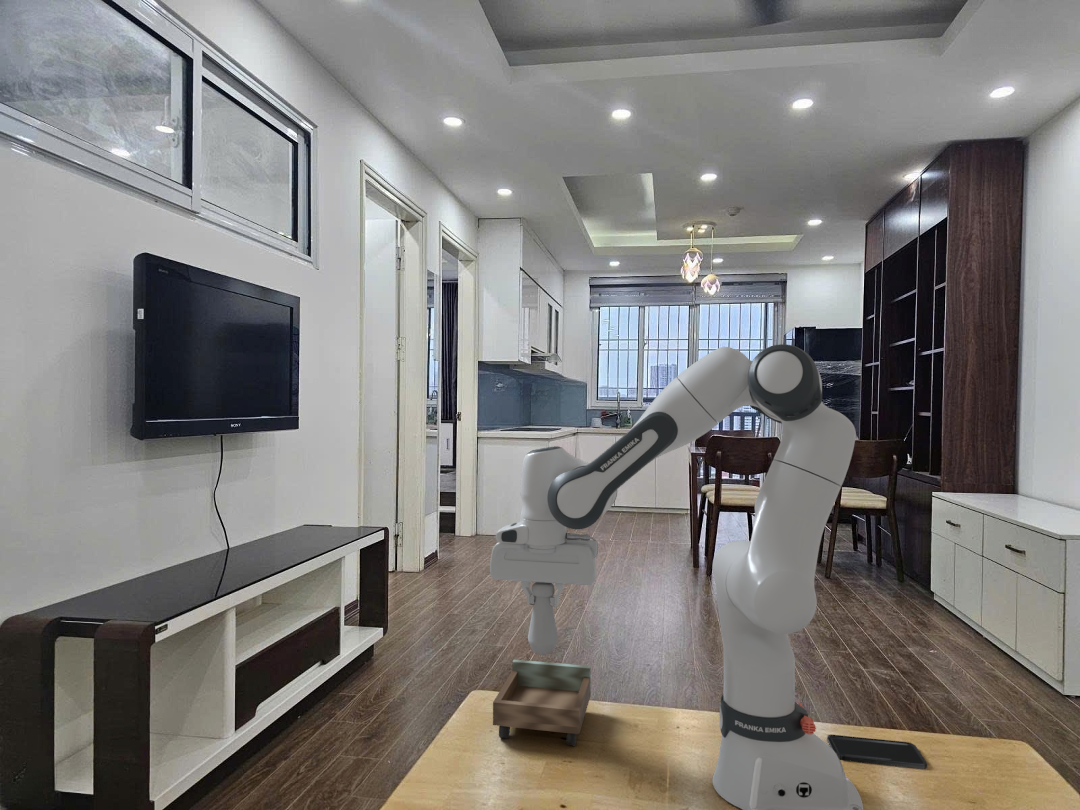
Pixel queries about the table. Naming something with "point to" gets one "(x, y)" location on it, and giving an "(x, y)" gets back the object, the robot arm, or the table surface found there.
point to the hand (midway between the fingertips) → (542, 604)
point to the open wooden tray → (543, 698)
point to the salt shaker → (542, 620)
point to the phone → (877, 751)
